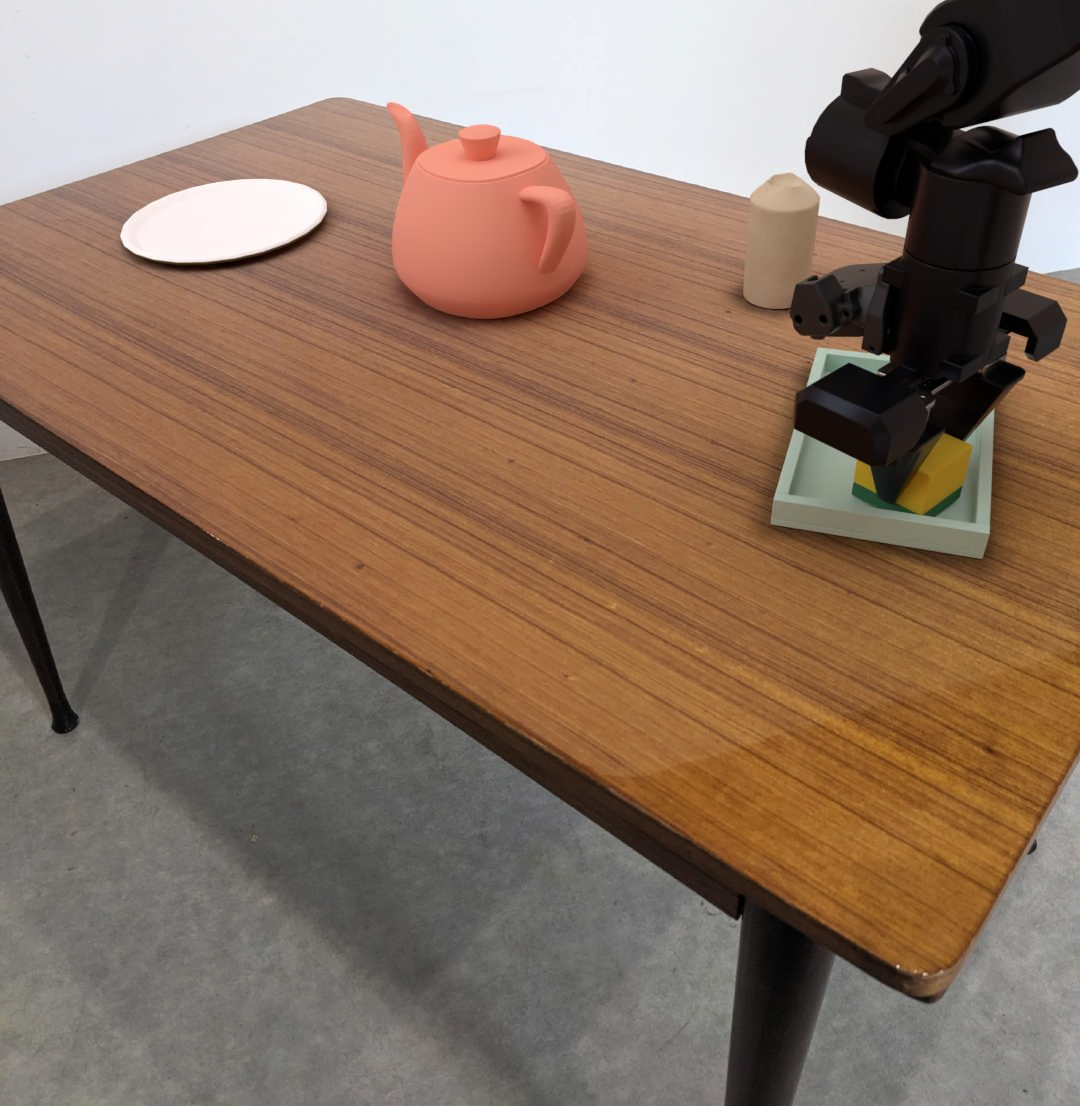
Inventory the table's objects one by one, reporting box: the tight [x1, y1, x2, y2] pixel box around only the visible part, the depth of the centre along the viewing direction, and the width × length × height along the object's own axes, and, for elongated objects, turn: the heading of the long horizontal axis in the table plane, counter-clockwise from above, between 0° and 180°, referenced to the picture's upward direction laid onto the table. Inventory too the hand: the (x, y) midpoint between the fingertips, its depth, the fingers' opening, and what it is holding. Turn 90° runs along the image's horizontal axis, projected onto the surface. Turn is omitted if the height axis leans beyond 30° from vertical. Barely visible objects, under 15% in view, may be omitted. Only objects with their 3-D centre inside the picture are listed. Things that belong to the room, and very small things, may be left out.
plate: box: [119, 178, 328, 266], centre depth 107 cm, size 21×21×1 cm
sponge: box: [852, 433, 973, 517], centre depth 65 cm, size 5×4×4 cm
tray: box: [770, 346, 996, 560], centre depth 71 cm, size 20×13×2 cm, turn 161°
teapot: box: [386, 101, 590, 320], centre depth 91 cm, size 25×17×13 cm
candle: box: [742, 172, 821, 310], centre depth 87 cm, size 6×6×10 cm
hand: (909, 484), depth 66 cm, fingers closed on sponge, 4 cm apart
